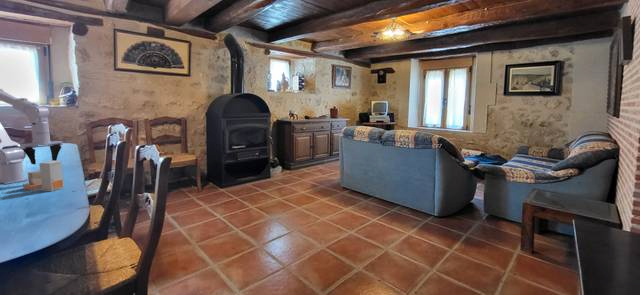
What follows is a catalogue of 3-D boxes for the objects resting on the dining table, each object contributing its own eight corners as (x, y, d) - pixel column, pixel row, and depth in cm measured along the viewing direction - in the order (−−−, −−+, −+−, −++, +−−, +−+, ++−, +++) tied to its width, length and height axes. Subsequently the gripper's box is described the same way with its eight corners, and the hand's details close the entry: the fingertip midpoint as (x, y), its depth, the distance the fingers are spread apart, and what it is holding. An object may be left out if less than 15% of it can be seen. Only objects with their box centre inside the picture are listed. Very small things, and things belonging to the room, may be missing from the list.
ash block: (29, 183, 129) (27, 172, 128) (40, 181, 132) (39, 170, 131) (33, 185, 127) (32, 173, 126) (45, 182, 131) (44, 171, 130)
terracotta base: (23, 188, 128) (22, 184, 128) (43, 184, 134) (43, 180, 134) (31, 191, 125) (31, 186, 125) (52, 186, 131) (51, 182, 131)
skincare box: (51, 191, 125) (48, 163, 123) (41, 191, 125) (38, 163, 124) (64, 187, 131) (61, 160, 130) (55, 187, 131) (52, 160, 130)
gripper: (24, 134, 127) (28, 166, 129) (64, 132, 140) (67, 160, 142) (16, 133, 129) (20, 164, 131) (56, 131, 143) (59, 159, 144)
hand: (44, 162), depth 137 cm, fingers open, 7 cm apart
